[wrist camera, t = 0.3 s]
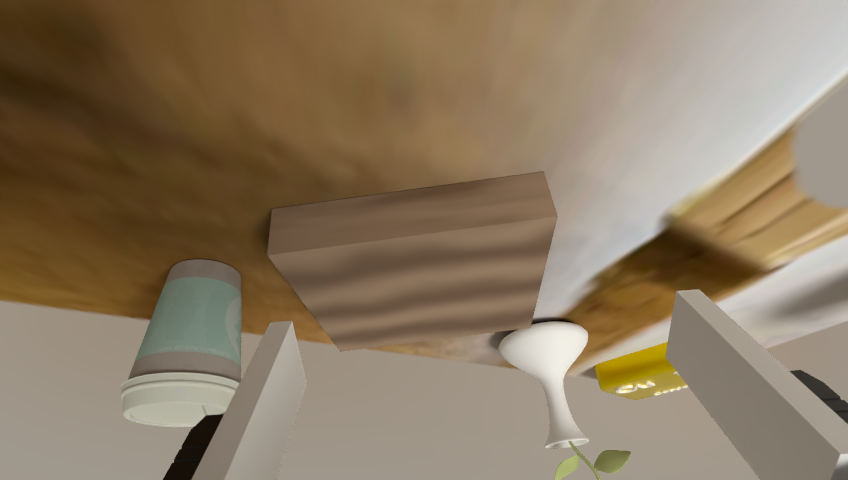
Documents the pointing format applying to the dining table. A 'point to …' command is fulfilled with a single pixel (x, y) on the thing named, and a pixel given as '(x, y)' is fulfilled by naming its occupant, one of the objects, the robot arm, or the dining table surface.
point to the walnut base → (419, 260)
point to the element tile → (639, 374)
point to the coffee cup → (188, 348)
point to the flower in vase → (557, 386)
